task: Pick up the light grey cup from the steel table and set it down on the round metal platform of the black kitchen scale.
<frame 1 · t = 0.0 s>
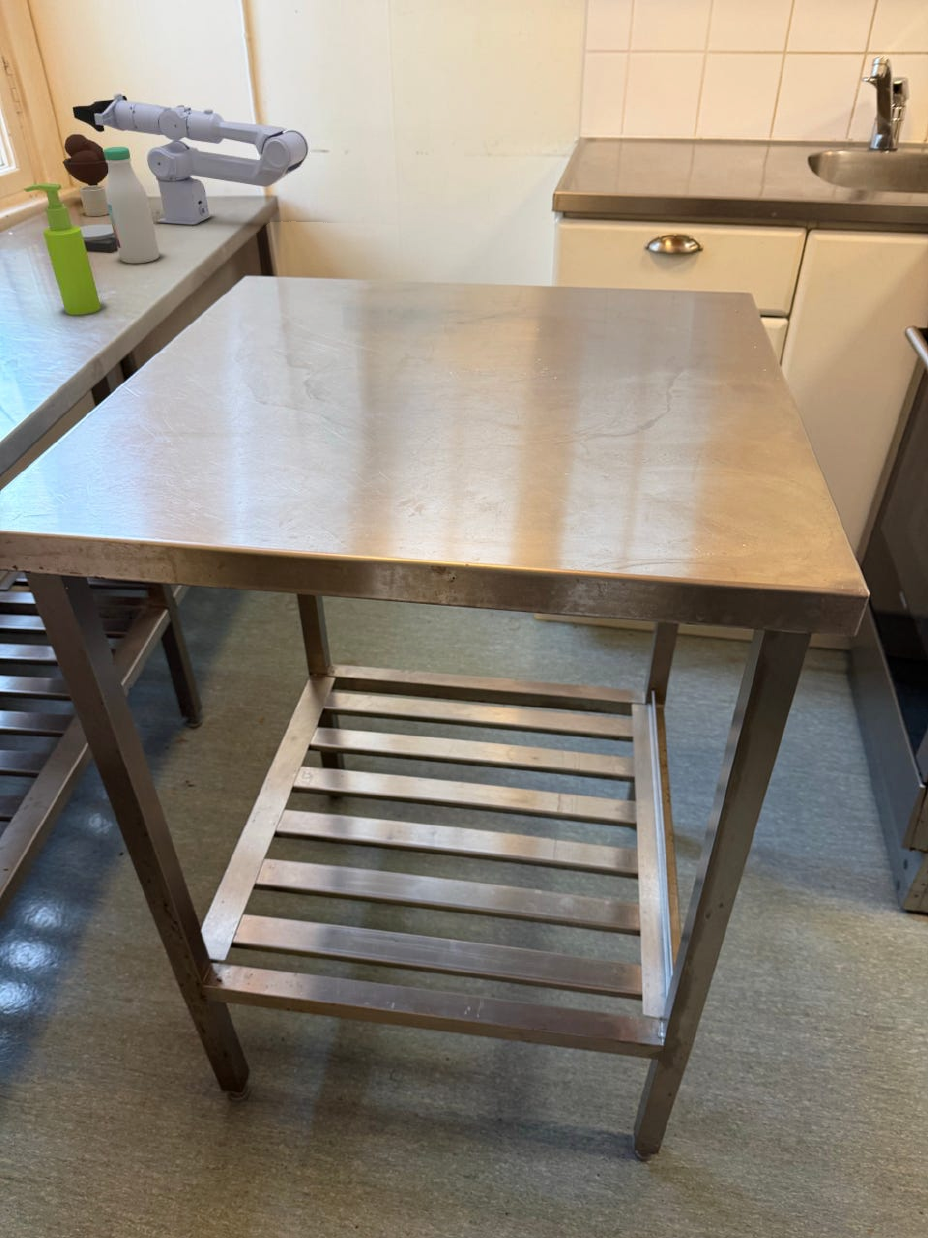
hand: (85, 109, 196), 22 cm above the table, tool horizontal, fingers open, 7 cm apart
milk bottle: (140, 259, 180), on the table
ice cream bowl: (97, 202, 220), on the table
soap dispenser: (80, 310, 156), on the table
light grey cup: (97, 213, 211), on the table
scale: (99, 243, 190), on the table
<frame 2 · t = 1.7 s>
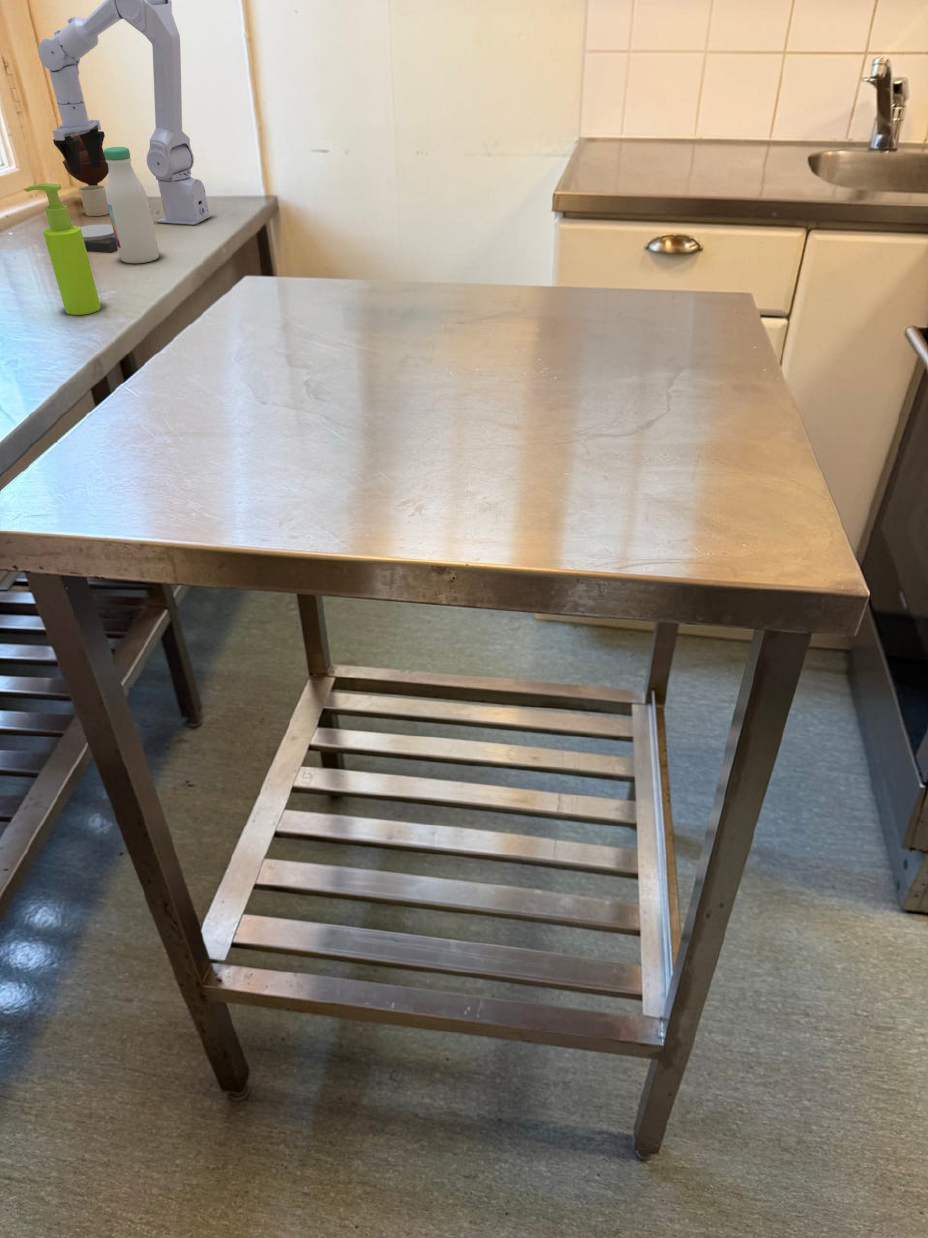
hand: (87, 170, 205), 9 cm above the table, tool pointing down, fingers open, 7 cm apart
nothing on the table moved.
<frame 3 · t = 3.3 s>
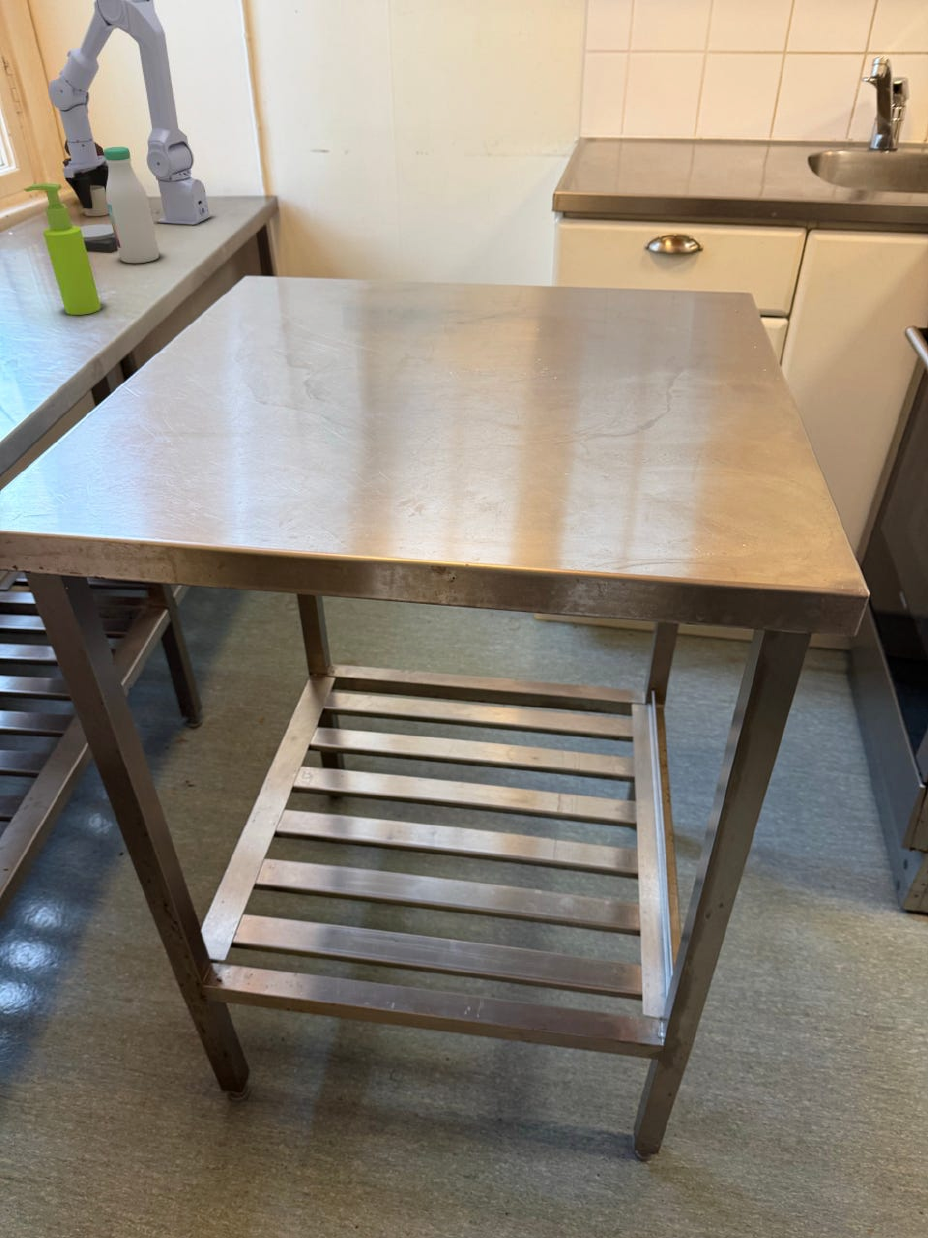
hand: (95, 204, 210), 2 cm above the table, tool pointing down, fingers closed on light grey cup, 5 cm apart
light grey cup: (97, 213, 211), on the table, touching gripper
everything else where it was.
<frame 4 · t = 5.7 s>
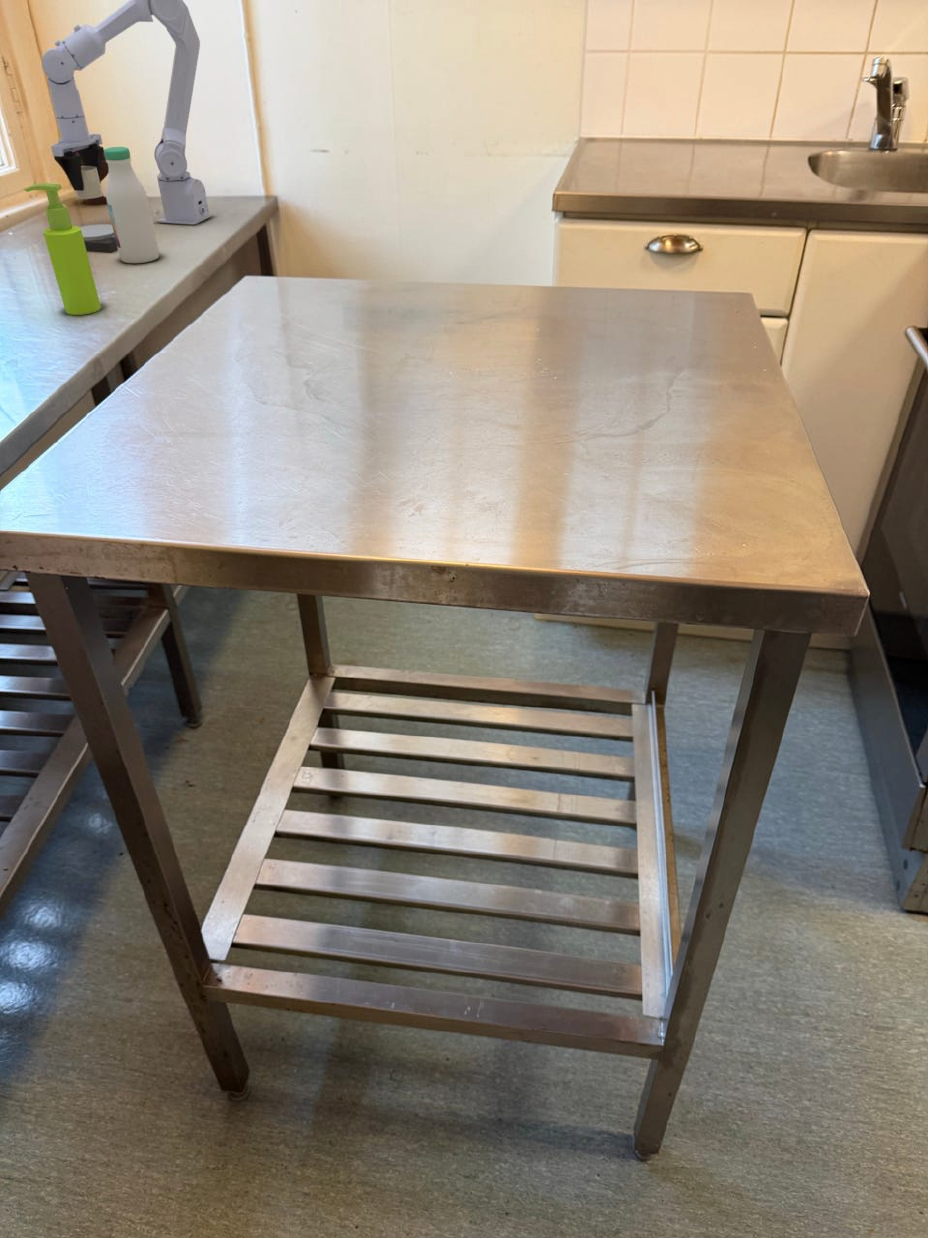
hand: (87, 186, 195), 8 cm above the table, tool pointing down, fingers closed on light grey cup, 5 cm apart
light grey cup: (89, 195, 196), point 7 cm above the table, touching gripper
everything else where it was.
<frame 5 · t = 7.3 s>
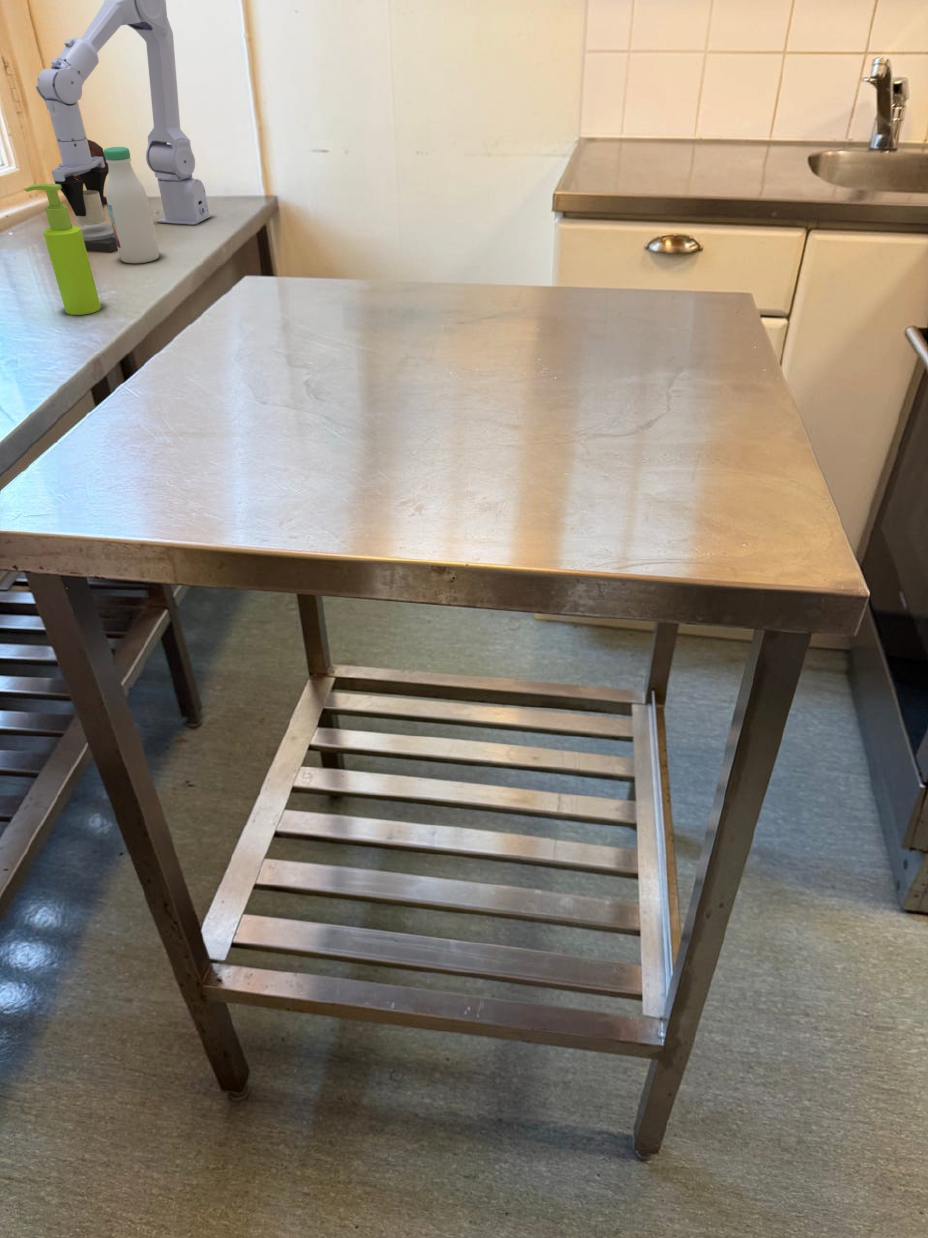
hand: (89, 212, 186), 6 cm above the table, tool pointing down, fingers closed on light grey cup, 5 cm apart
light grey cup: (91, 221, 187), point 4 cm above the table, touching gripper
everything else where it was.
when the fingers open (4 cm above the table, at t = 8.5 s): light grey cup stays where it is, resting on scale.
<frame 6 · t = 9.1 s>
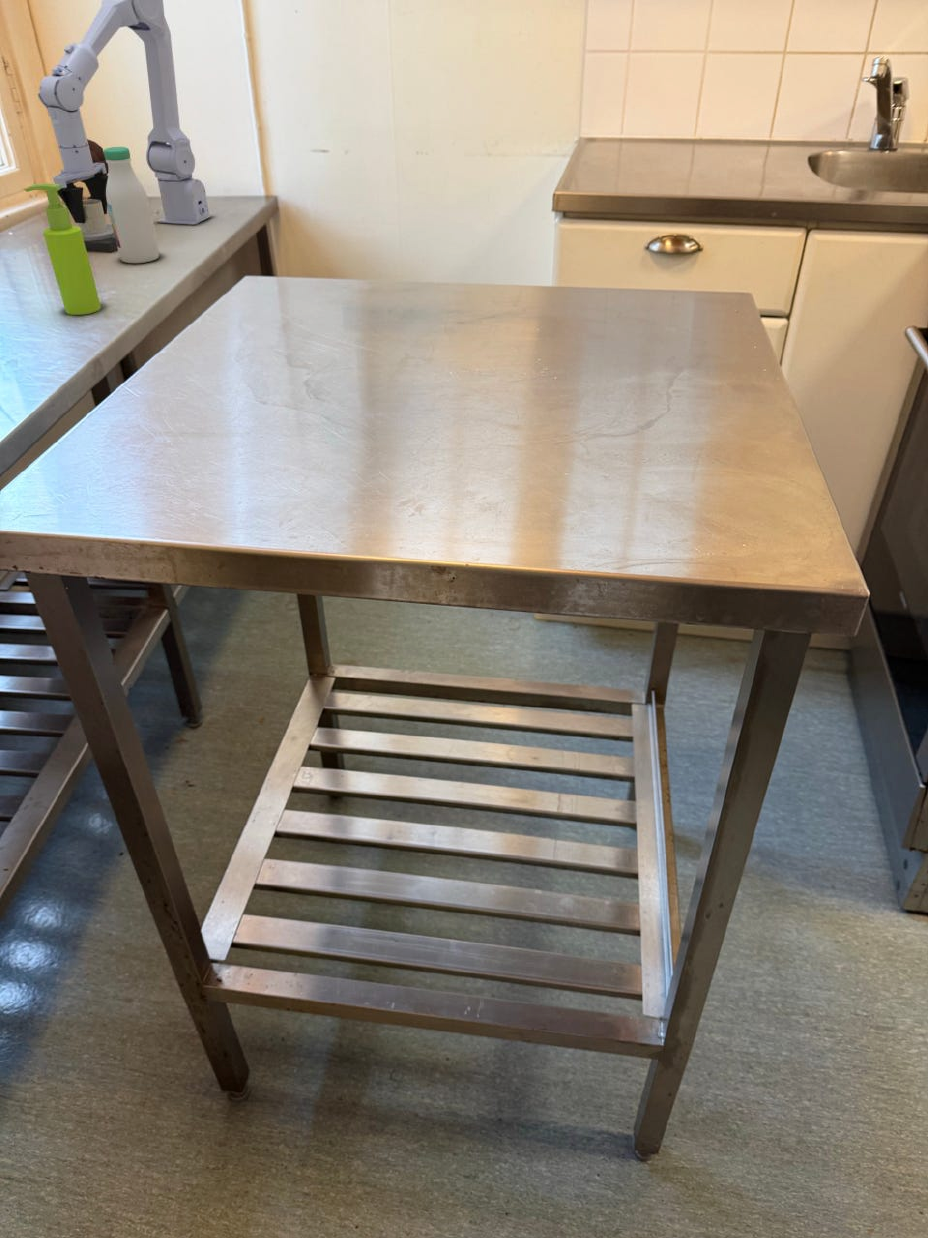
hand: (91, 218, 187), 5 cm above the table, tool pointing down, fingers open, 7 cm apart
light grey cup: (93, 230, 188), point 3 cm above the table, touching scale
everything else where it was.
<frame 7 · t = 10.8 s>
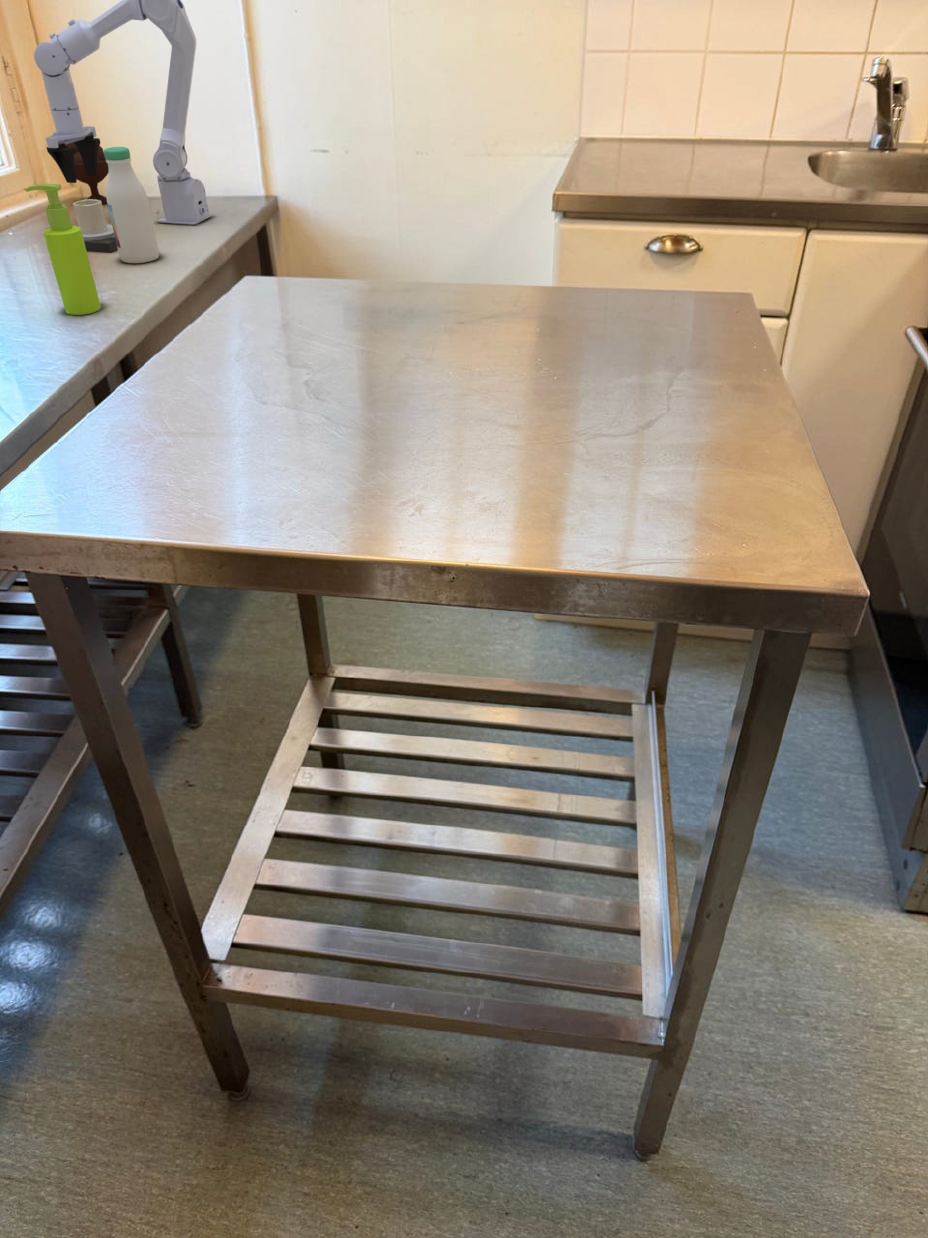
hand: (82, 178, 197), 9 cm above the table, tool pointing down, fingers open, 7 cm apart
nothing on the table moved.
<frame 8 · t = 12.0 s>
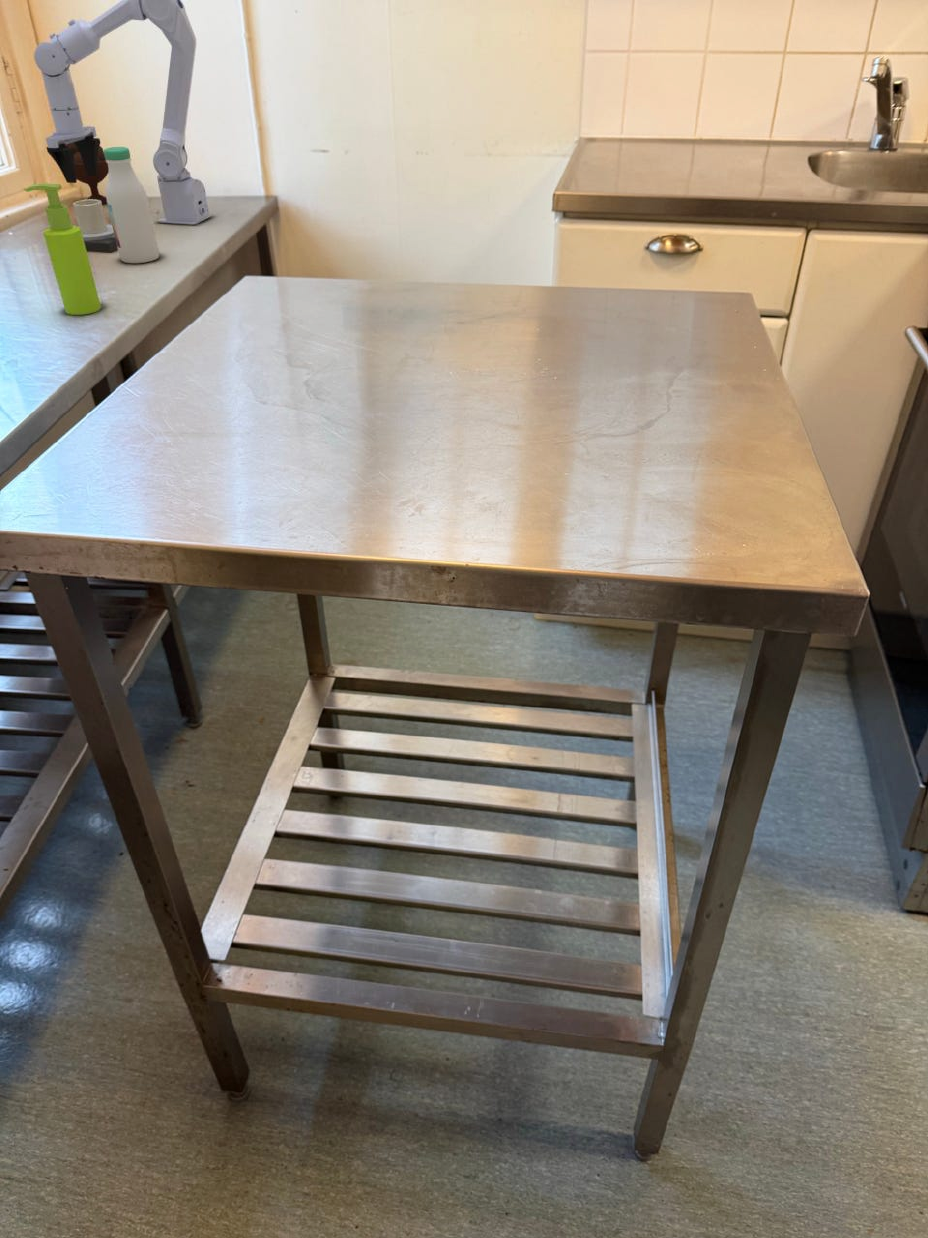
hand: (82, 178, 197), 9 cm above the table, tool pointing down, fingers open, 7 cm apart
nothing on the table moved.
at the end: light grey cup inside the target area on the scale (0.1 cm from its centre), point 2.6 cm above the scale's base; light grey cup tilted 0°; the gripper is holding nothing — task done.
